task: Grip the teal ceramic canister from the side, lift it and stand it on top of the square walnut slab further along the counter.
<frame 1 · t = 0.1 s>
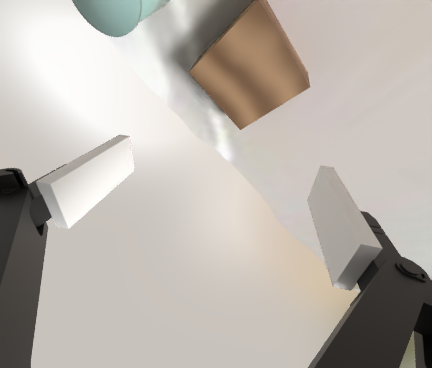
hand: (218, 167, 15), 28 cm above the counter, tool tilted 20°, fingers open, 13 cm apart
slab: (250, 66, 35), on the counter
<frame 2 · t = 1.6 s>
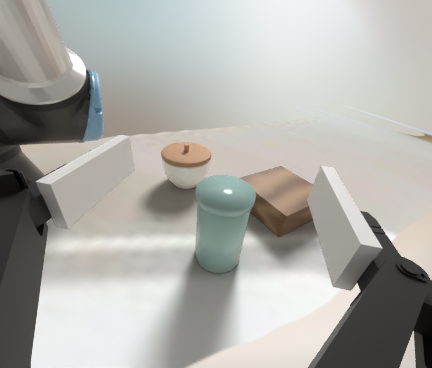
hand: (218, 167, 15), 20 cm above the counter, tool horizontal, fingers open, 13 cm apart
canister: (217, 253, 33), on the counter
slab: (277, 206, 45), on the counter
lidded jar: (186, 182, 50), on the counter
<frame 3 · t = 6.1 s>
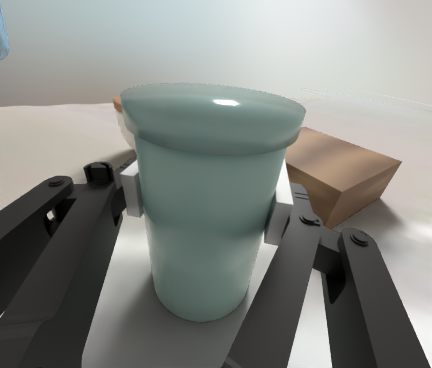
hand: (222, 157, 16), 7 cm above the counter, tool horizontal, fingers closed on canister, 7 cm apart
canister: (202, 270, 16), on the counter, touching gripper
slab: (304, 184, 27), on the counter
lidded jar: (160, 153, 33), on the counter
when the fingers open (13 cm above the counter, at t = 10.2 s): canister stays where it is, resting on slab.
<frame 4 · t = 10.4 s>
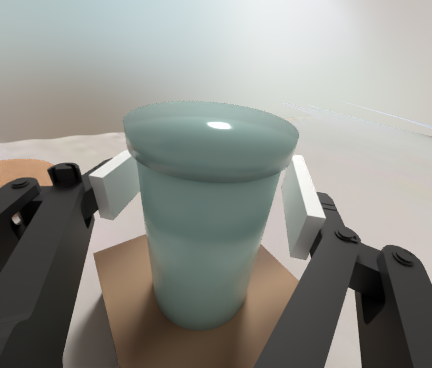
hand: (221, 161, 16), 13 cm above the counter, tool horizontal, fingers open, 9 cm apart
canister: (201, 279, 16), point 5 cm above the counter, touching slab
slab: (199, 311, 19), on the counter
lidded jar: (24, 242, 24), on the counter
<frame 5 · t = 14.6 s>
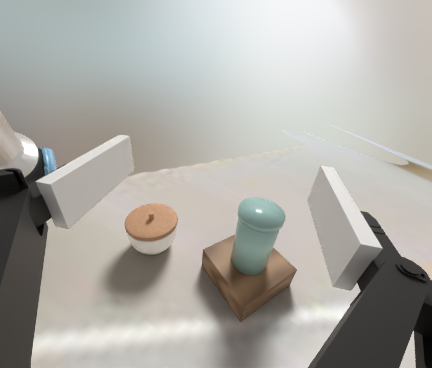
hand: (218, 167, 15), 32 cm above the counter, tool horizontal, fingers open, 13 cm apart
canister: (248, 259, 41), point 5 cm above the counter, touching slab
slab: (244, 274, 44), on the counter
lidded jar: (154, 244, 49), on the counter
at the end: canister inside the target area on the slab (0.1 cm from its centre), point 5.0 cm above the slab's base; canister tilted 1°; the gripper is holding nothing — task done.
